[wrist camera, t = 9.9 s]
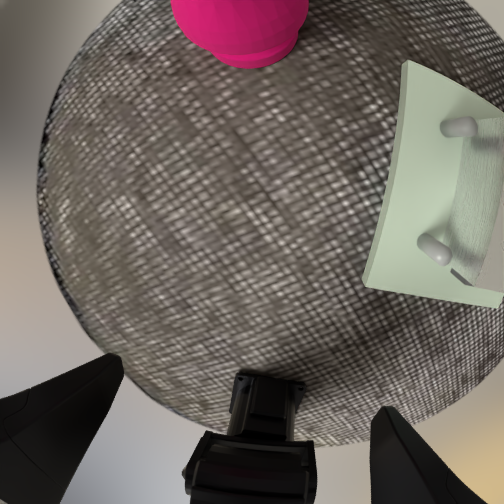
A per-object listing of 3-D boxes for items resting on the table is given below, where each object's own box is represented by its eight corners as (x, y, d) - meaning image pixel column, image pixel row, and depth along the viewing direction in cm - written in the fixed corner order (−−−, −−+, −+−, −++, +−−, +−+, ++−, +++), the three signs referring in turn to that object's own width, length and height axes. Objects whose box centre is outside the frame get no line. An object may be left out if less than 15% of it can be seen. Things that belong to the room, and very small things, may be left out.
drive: (464, 121, 12) (508, 116, 8) (506, 146, 12) (548, 151, 7) (435, 262, 16) (471, 294, 11) (478, 273, 16) (513, 302, 11)
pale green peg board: (491, 302, 17) (514, 325, 13) (361, 279, 18) (377, 309, 14) (529, 139, 12) (559, 142, 8) (401, 64, 13) (427, 45, 9)
